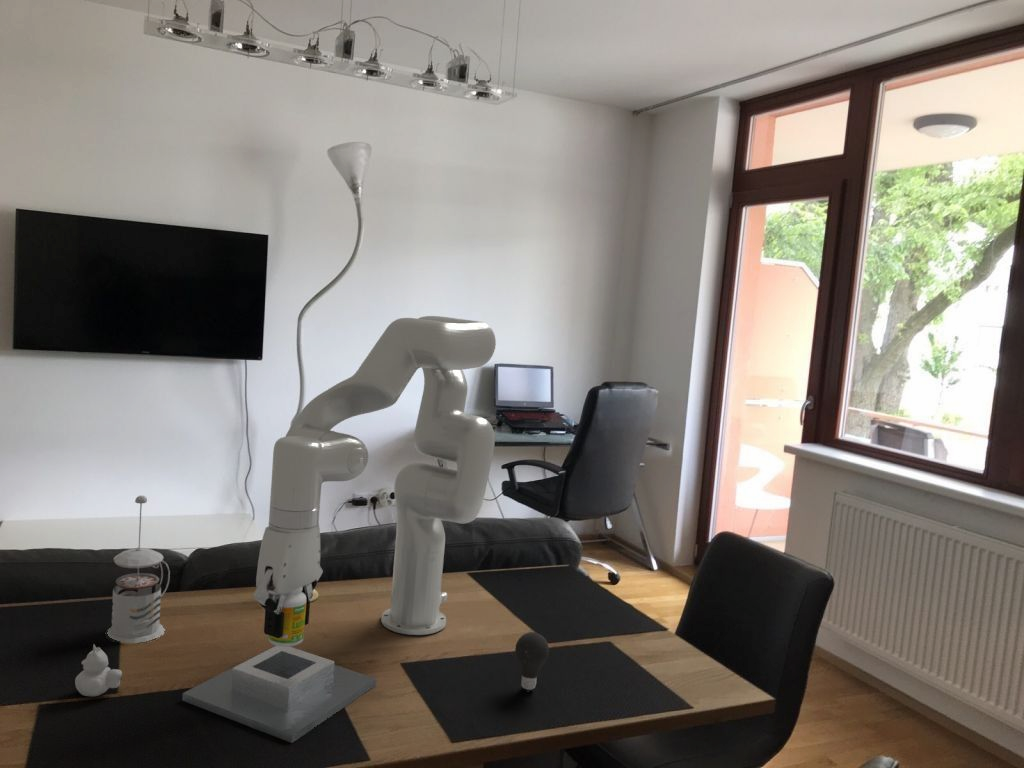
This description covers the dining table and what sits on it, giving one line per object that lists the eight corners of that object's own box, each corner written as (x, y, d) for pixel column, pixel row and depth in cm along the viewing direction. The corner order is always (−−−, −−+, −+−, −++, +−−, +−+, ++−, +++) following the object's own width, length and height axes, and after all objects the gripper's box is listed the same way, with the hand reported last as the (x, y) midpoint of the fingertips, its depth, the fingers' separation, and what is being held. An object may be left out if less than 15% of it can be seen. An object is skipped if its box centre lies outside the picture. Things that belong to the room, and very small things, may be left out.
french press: (91, 635, 148) (97, 496, 145) (143, 614, 158) (149, 483, 155) (134, 649, 144) (140, 506, 141) (184, 626, 155) (191, 493, 152)
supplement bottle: (294, 650, 130) (298, 589, 129) (261, 644, 131) (265, 583, 130) (309, 636, 135) (313, 578, 134) (278, 631, 136) (282, 572, 135)
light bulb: (510, 681, 145) (515, 625, 144) (542, 683, 145) (548, 627, 144) (512, 697, 139) (518, 639, 138) (546, 699, 140) (552, 641, 139)
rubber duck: (82, 684, 131) (84, 635, 130) (127, 686, 132) (129, 637, 131) (68, 702, 125) (70, 650, 125) (114, 703, 126) (116, 652, 125)
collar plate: (275, 651, 148) (277, 626, 147) (375, 685, 139) (378, 658, 139) (182, 700, 129) (183, 671, 128) (291, 742, 120) (293, 711, 120)
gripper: (310, 501, 140) (302, 607, 142) (235, 523, 124) (228, 641, 126) (347, 510, 137) (339, 618, 139) (275, 533, 121) (267, 654, 123)
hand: (286, 627), depth 133 cm, fingers closed on supplement bottle, 5 cm apart
